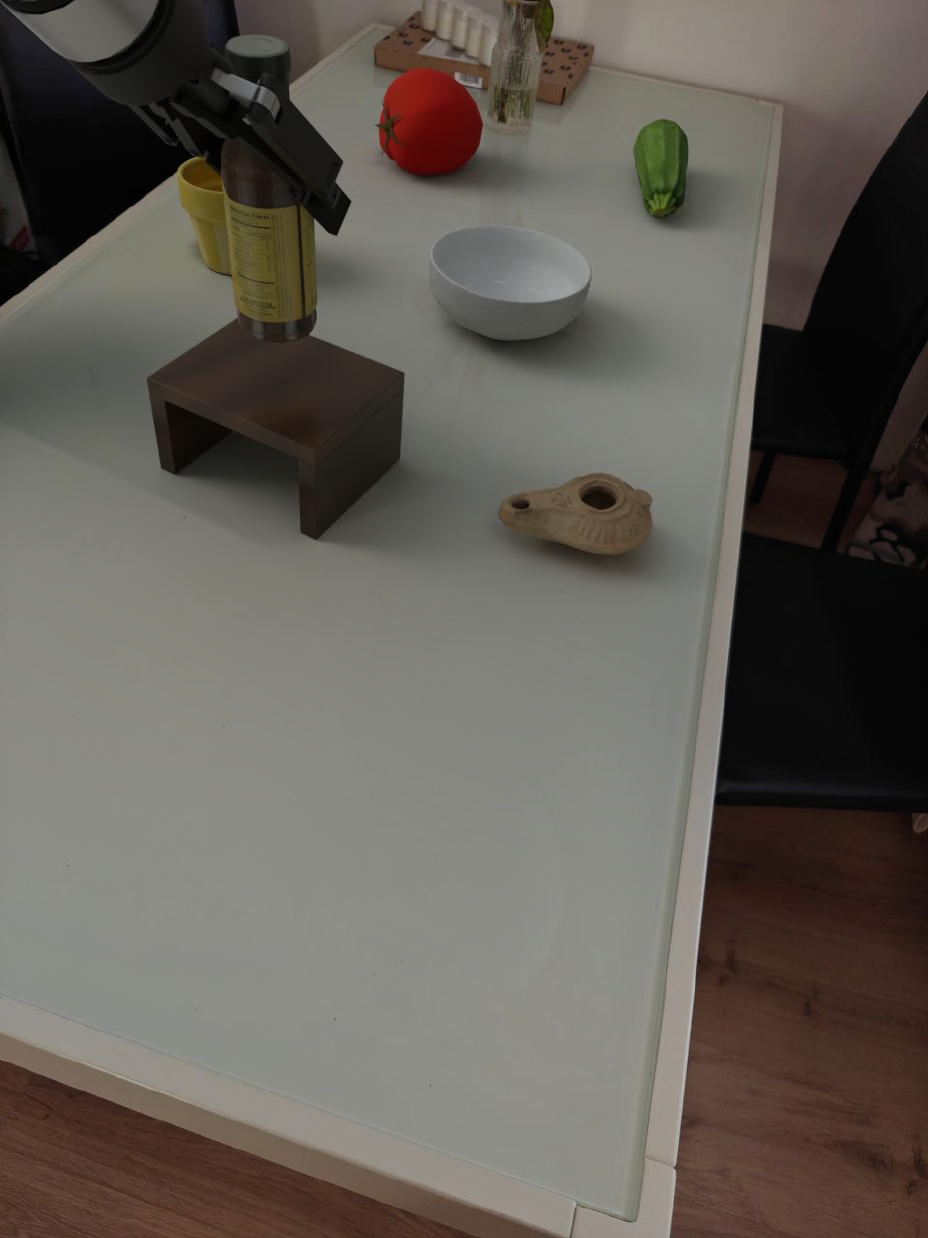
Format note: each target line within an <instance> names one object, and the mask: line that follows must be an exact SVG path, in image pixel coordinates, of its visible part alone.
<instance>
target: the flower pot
mask: <svg viewBox="0 0 928 1238" xmlns="http://www.w3.org/2000/svg"><path fill="white" fill-rule="evenodd" d="M176 177H177V178H176V179H177V187H178V194H179V200H180V205H181V207H182V209H183V210H184V211H185V212H186V213H187V214H188V216H189V218H190V221H191V224H192V227H193V231H194V234H195V237H196V240H197V243H198V246H199V250H200V253H201V256H202V259H203V262H204V264H205V265H206V266H207V267H208V268H209V269H210V270H212V271H214V272H215V273H216V272H217V273H219V274H223V275H229V276H232V274H231V265H230V256H229V247H228V237H227V227H226V216H225V208H224V198H223V191H222V179H221V177H220V176H219V175H218V174H217V173H216V172H215V171H214V170H213V169H212V168H211V167H210V166H209V165H208V164H207V163H206V159H205V158H204V157H203V158H200V157H195V156H194V157H192V158H190V159H187V160H186V161H184V162H183V163H182V164H181V165H180V166H179V167H178V169H177V171H176Z"/></svg>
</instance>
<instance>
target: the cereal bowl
mask: <svg viewBox="0 0 928 1238" xmlns="http://www.w3.org/2000/svg"><path fill="white" fill-rule="evenodd" d="M428 270H429V271H428V272H429V273H428V277H429V284H430V288H431V291H432V295H433V296H434V300H435V301H436V302H437V304H438V306H440V309H441V310H443V311H444V313H445V314H446V315H447V316H448V317H449V318H451V319H452V320H453V321H455V322H456V323H457V324H459V325H461V326H462V327H463V328H466V329H468V330H470V331H473V332H475V333H476V334H479V335H481V336H483V337H485V338H488V339H491V340H494V341H502V342H518V341H522V340H533V339H539V338H542V337H545V336H550V335H552V334H555V333H556V332H558V331H561V330H562V329H564V328H566V326H568V325H569V324H570V323H571V322H573V321H574V320H575V318H576V317H577V316H578V315H579V313H580V312H581V310H582V309H583V307H584V305H585V302H586V300H587V297H588V294H589V292H590V287H591V282H592V268H591V265H590V262H589V261H588V259H587V258H586V257H585V255H584V254H583V253H581V252H580V251H579V250H578V249H577V248H575V247H574V246H572V245H571V244H569V243H568V242H566V241H564V240H562V239H560V238H558V237H556V236H554V235H551V234H548V233H546V232H543V231H539V230H536V229H531V228H526V227H521V226H514V225H507V224H506V225H505V224H504V225H502V224H482V225H472V226H465V227H461V228H458V229H454V230H451V231H449V232H447V233H445V234H443V235H442V236H440V237H439V238H437V240H435V242H434V243H433V244H432V246H431V248H430V251H429V259H428Z"/></svg>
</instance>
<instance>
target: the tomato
mask: <svg viewBox="0 0 928 1238" xmlns="http://www.w3.org/2000/svg"><path fill="white" fill-rule="evenodd" d="M380 99H381V103H382V104H381V105H382V107H383V108H382V110H381V112H380V117H379V122H378V123H376V124H374V126H376V127H377V128H378V139H379V146H380V148H381V149H382V151H381V155H383V153H385V155H386V156H387V158H388V159H389V160H391V161H393V162H395V164H396V166H398V167H399V168H400V169H402V170H403V171H404V172H408V173H409V174H410V173H411V174H412V175H413V174H414V175H415V176H442V175H446V174H450V173H454V172H455V173H456V172H457V171H459V170H460V169H462V168H463V167H465V166H466V165H467V163H469V161H470V160H471V159H472V158H473V157H474V156H475V155H476V153H477V151H478V149H479V147H480V146H481V145H480V144H481V140H482V134H483V128H484V123H483V122H484V121H483V119H482V116H481V112H480V110H479V107H478V104H477V102H476V100H475V99H474V97H473V96H472V95H471V94H470V92H469V91H468V89H467V88H466V87H465V86H464V85H463V84H462V83H460V82H459V81H458V80H456V78H454V77H453V76H452V75H450V74H449V73H447V72H444V71H441V70H439V69H434V68H430V67H419V68H413V69H410V70H408V71H406V72H405V73H403V74H401V75H399V76H398V77H395V79H394V80H393V81H392V82H391V83H390V84H389V86H388V87H387V89H386V91H385V94H384V96H383V99H382V97H381V98H380Z"/></svg>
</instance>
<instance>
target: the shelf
mask: <svg viewBox="0 0 928 1238" xmlns="http://www.w3.org/2000/svg"><path fill="white" fill-rule="evenodd" d="M405 375H406V373H405V371H403V370H399V369H397V368H394V367H392V366H389V365H387V364H384V363H381V362H378V361H377V360H375V359H372V358H368V357H366V356H364V355H362V354H359V353H357V352H354V351H351V350H348V349H346V348H343V347H341V346H339V345H336V344H334V343H331V342H329V341H326V340H324V339H321V338H319V337H316V336H313V335H310V334H309V335H308V336H307V337H305V338H303V339H301V340H297V341H294V342H290V343H285V344H271V343H267V342H263V341H260V340H256V339H254V338H251V337H249V336H248V335H247V334H246V333H245V332H244V331H243V329H242V328H241V326H240V324H239V321H238V317H236V318H235V319H233V320H232V321H230V322H229V323H227V324H225V325H224V326H223V327H221V328H220V329H218V330H217V331H215V332H214V333H212V334H210V335H209V336H207V337H206V338H204V339H203V340H201V341H200V342H198V343H197V344H195V345H194V346H193V347H191V348H189V349H187V351H185V352H183V353H182V354H181V355H179V356H177V357H176V358H174V359H173V360H171V361H169V362H168V363H167V364H166V365H164V366H162V367H161V368H159V369H157V370H156V371H155V372H153V373H151V374H150V375H148V376H147V377H146V384H147V388H148V389H147V390H148V393H149V394H148V397H149V403H150V409H151V415H152V421H153V427H154V428H153V429H154V434H155V440H156V446H157V452H158V458H159V465H160V468H161V469H162V470H164V471H166V472H168V473H171V474H173V475H178V474H179V473H180V472H181V471H182V470H184V469H185V468H186V467H188V466H189V465H190V464H191V463H193V462H194V461H195V460H197V459H198V458H200V457H201V456H203V454H204V453H206V452H208V451H209V450H210V449H211V448H212V447H214V446H215V445H216V444H217V443H219V442H220V441H222V439H224V438H225V437H226V436H228V435H229V434H231V432H233V431H234V432H236V433H239V434H240V435H243V436H245V437H248V438H250V439H252V440H254V441H257V442H259V443H261V444H263V445H266V446H268V447H270V448H273V449H275V450H277V451H280V452H281V453H284V454H286V455H289V456H291V457H293V458H296V459H297V470H298V471H297V475H298V498H299V499H298V501H299V502H298V503H299V529H300V534H301V535H302V534H303V535H304V536H307V537H309V538H311V539H313V540H316V541H317V540H319V538H320V537H322V536H323V535H324V534H325V533H326V532H327V531H328V530H329V529H330V528H331V527H332V526H333V525H334V524H335V523H336V522H337V521H338V520H339V519H340V518H342V516H343V515H344V514H345V513H346V512H347V511H348V510H349V509H351V508H352V506H353V505H354V504H356V502H358V500H360V499H361V498H362V497H363V496H364V495H365V494H366V493H367V492H368V491H369V490H371V488H373V486H374V485H375V484H376V483H377V482H378V481H380V480H381V478H383V476H385V475H386V474H387V472H389V471H390V469H392V468H393V467H394V466H395V465H396V464H397V463H398V462H399V461H400V460H401V450H402V448H401V447H402V433H403V430H402V429H403V414H404V400H405V399H404V398H405V397H404V396H405V377H406V376H405Z"/></svg>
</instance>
